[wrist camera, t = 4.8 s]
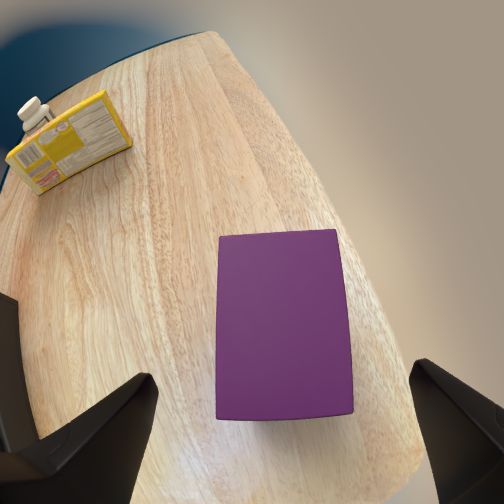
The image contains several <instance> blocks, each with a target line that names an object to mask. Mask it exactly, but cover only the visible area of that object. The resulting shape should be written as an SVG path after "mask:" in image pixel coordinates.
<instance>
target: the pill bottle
mask: <svg viewBox="0 0 504 504" xmlns="http://www.w3.org/2000/svg"><path fill="white" fill-rule="evenodd" d="M18 116H19V117H20V119H22V120H24V124H23V129H24V131H25V133H26V134H27V135H28V136H31V135H32V134H33V133H35V132H36V131H38V130H39V129H40V128H42V127H43V126H45V125H46V124H47V123H49V122H50V121H52V120H53V119H55V118H56V117H55V115H54V114H53V112H52V111H51V109H50V108H49V106H48V105H45V104H44V105H40V100H39V99H38V98H37V97H34V98H32V99H31V100H29V101H28V102H27V103H26V104H25V105H24V106H23V107H22V108H21V109H20V111H19V112H18Z"/></svg>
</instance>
